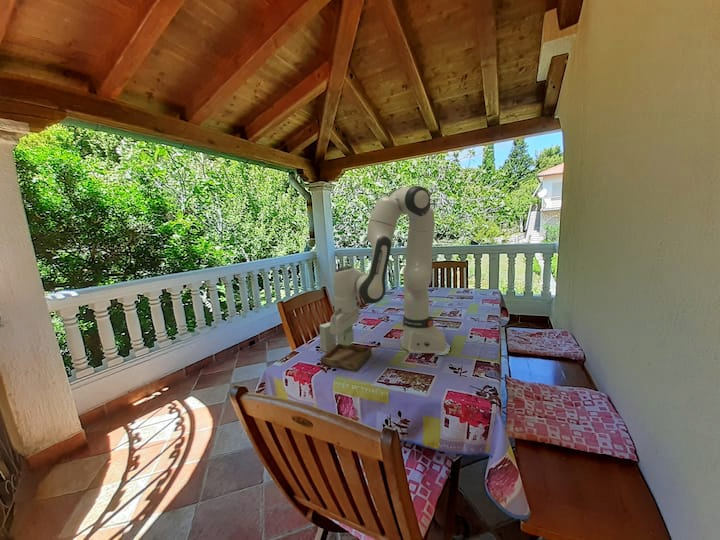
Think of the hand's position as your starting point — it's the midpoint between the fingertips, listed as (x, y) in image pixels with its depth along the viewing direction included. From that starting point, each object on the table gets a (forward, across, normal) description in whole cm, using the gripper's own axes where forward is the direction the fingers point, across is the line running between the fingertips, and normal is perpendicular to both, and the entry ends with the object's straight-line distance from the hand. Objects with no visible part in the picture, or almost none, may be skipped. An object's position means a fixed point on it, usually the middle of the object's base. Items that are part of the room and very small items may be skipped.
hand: (345, 337), depth 120 cm
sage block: (+2, 0, 0) cm, 2 cm away
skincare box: (+10, +6, +12) cm, 17 cm away
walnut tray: (+10, 0, 0) cm, 10 cm away
